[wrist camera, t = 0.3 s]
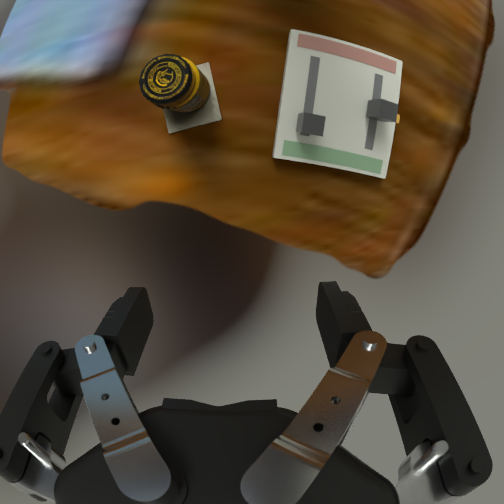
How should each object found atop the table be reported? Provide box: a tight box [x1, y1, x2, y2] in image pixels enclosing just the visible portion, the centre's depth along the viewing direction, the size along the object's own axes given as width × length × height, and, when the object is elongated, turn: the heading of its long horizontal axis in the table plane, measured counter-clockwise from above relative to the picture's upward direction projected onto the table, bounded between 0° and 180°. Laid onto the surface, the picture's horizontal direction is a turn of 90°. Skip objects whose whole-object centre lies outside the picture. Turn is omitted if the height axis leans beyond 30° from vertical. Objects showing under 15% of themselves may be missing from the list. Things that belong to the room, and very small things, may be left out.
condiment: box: [139, 54, 222, 134], centre depth 28 cm, size 7×8×12 cm
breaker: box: [296, 112, 326, 136], centre depth 31 cm, size 2×2×4 cm
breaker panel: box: [272, 29, 402, 179], centre depth 32 cm, size 18×16×2 cm
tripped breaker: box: [366, 99, 399, 122], centre depth 30 cm, size 2×2×4 cm
